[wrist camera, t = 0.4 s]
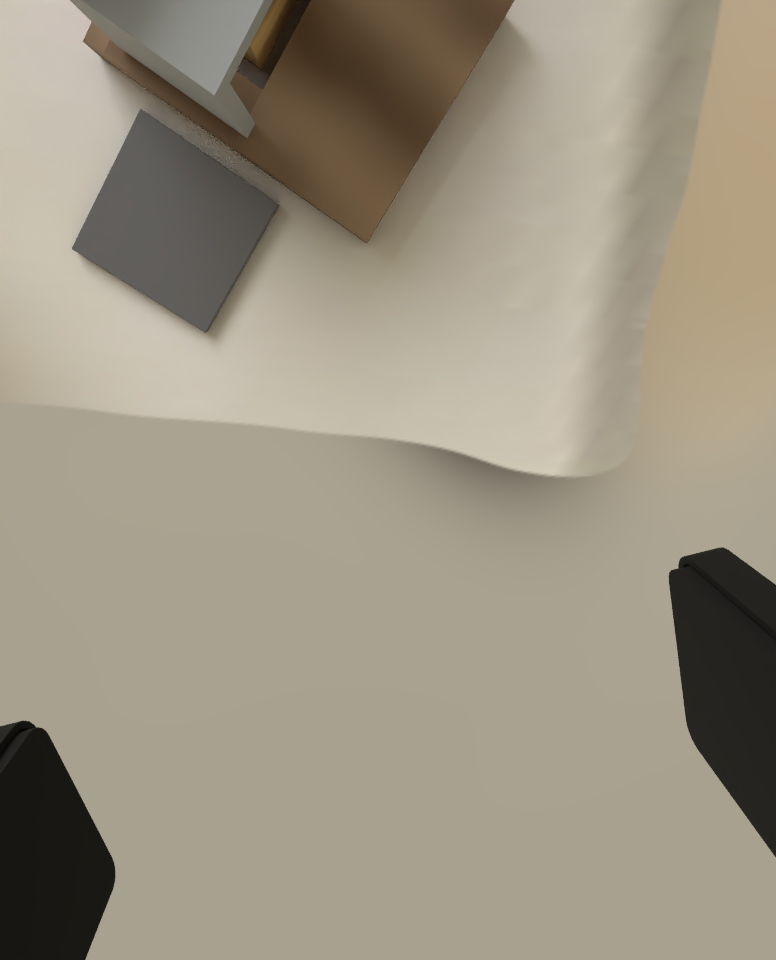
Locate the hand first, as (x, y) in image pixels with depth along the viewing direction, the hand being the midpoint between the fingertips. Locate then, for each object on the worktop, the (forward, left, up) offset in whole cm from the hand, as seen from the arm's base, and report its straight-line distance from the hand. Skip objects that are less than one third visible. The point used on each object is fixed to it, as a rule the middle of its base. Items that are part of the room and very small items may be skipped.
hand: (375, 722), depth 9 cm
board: (-13, -12, -30) cm, 35 cm away
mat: (-2, -13, -30) cm, 33 cm away
